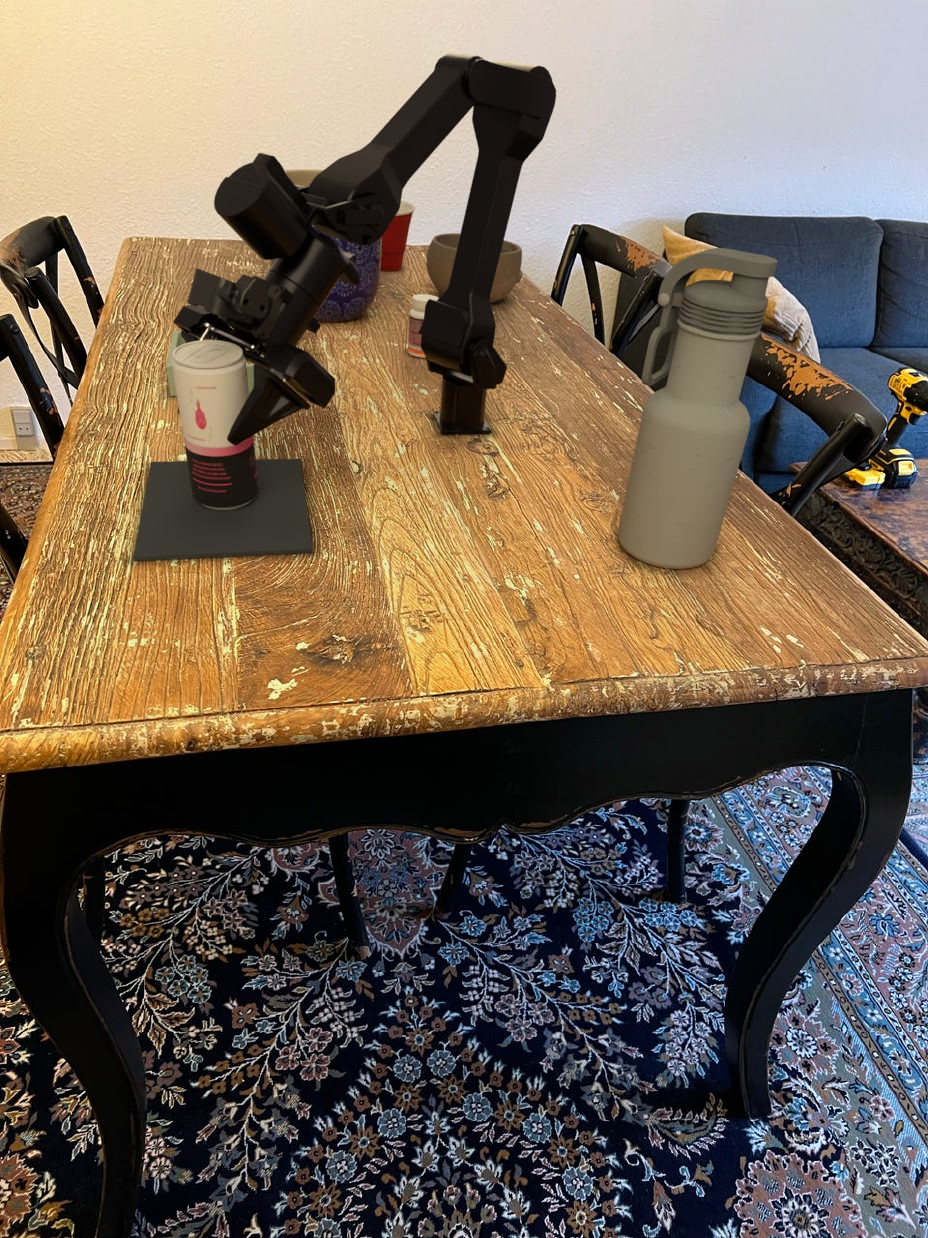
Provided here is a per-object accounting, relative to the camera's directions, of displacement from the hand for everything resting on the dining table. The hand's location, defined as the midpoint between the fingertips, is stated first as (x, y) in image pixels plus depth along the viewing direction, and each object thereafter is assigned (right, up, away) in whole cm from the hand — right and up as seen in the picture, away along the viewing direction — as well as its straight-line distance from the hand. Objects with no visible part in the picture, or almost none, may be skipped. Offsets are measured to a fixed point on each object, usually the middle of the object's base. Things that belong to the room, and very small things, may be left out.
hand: (205, 428), depth 80 cm
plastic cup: (+9, +54, +93) cm, 108 cm away
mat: (0, -7, +6) cm, 9 cm away
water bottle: (+45, -11, +6) cm, 46 cm away
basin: (-8, +15, +36) cm, 40 cm away
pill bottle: (+18, +23, +50) cm, 58 cm away
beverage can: (0, -6, +6) cm, 8 cm away
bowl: (+26, +42, +79) cm, 93 cm away
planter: (+1, +34, +64) cm, 72 cm away
